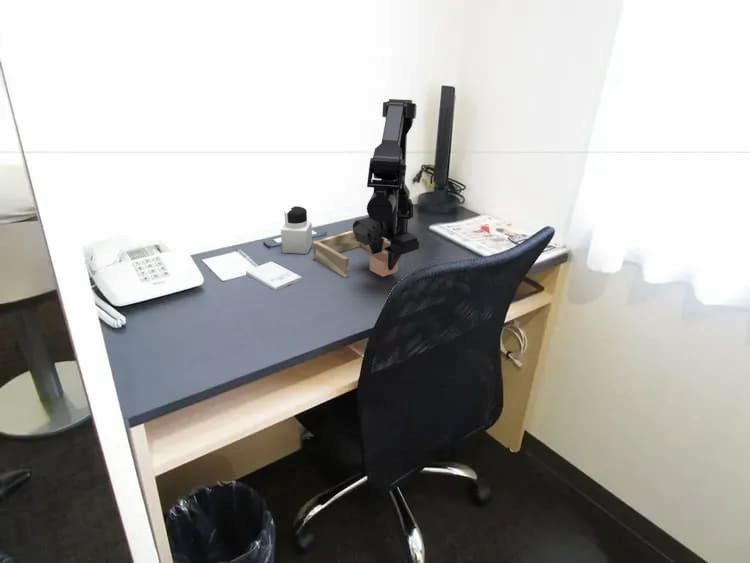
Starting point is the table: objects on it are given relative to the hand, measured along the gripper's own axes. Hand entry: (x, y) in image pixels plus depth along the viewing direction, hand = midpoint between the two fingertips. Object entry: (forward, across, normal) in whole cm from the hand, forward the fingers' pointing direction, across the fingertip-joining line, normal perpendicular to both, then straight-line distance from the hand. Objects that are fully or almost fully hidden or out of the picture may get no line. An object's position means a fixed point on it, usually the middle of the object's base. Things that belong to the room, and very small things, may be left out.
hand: (383, 266), depth 121 cm
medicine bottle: (+3, -28, -8) cm, 29 cm away
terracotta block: (+1, 0, 0) cm, 1 cm away
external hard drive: (+4, -17, -22) cm, 28 cm away
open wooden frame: (+3, -13, 0) cm, 13 cm away
